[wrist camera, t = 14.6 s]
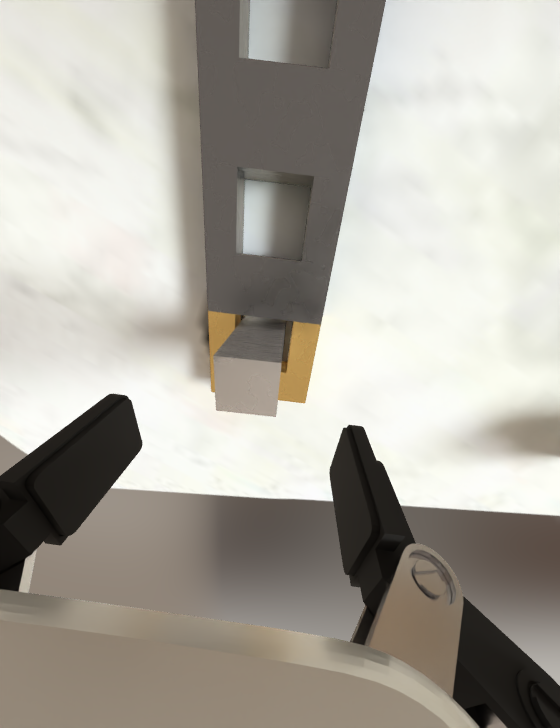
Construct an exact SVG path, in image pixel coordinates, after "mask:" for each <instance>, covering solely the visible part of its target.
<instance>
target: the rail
mask: <svg viewBox="0 0 560 728" xmlns="http://www.w3.org/2000/svg"><path fill="white" fill-rule="evenodd" d="M385 2H386V0H337V6H336V13H335V20H334V27H333V35H332V42H331V49H330V56H329V63H328V68H320V67H312V66H304V65H296V64H288V63H280V62H271V61H263V60H255V59H248V47H249V11H250V0H195V8H196V32H197V56H198V81H199V105H200V129H201V153H202V177H203V201H204V225H205V249H206V273H207V297H208V322H209V346H210V370H211V392H215V379H214V361H213V356H214V354H215V353H216V352H217V351H218V349H219V348H220V347H221V346H222V344H223V343H224V342H225V341H226V339H227V338H228V337H229V336H230V335H231V333H232V332H233V331H234V330H235V328H236V327H237V326H238V325H239V323H240V322H241V315H245V316H253V317H262V318H270V319H278V320H286V321H293V323H292V330H291V337H290V344H289V352H288V359H287V362H285V361H282V364H281V374H280V383H279V393H278V400H282V401H290V402H298V403H305V401H306V396H307V391H308V386H309V381H310V376H311V371H312V366H313V361H314V356H315V351H316V346H317V341H318V336H319V331H320V326H321V321H322V316H323V311H324V306H325V301H326V296H327V291H328V286H329V281H330V276H331V271H332V266H333V261H334V256H335V251H336V246H337V241H338V236H339V231H340V226H341V221H342V216H343V211H344V206H345V201H346V196H347V191H348V186H349V181H350V176H351V171H352V166H353V161H354V156H355V151H356V146H357V141H358V136H359V131H360V126H361V121H362V116H363V111H364V106H365V101H366V96H367V92H368V87H369V82H370V77H371V72H372V67H373V62H374V57H375V52H376V47H377V42H378V37H379V32H380V27H381V22H382V17H383V12H384V7H385ZM245 179H250V180H258V181H266V182H275V183H283V184H291V185H299V186H307V187H311V193H310V200H309V207H308V215H307V222H306V229H305V236H304V243H303V251H302V258H301V261H298V260H290V259H281V258H273V257H265V256H257V255H249V254H243V226H244V190H245Z"/></svg>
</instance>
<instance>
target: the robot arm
mask: <svg viewBox="0 0 560 728" xmlns="http://www.w3.org/2000/svg"><path fill="white" fill-rule="evenodd" d="M141 448H142V440H141V436H140V432H139V428H138V424H137V421H136V417H135V413H134V409H133V405H132V402H131V400H130V399H129V398H128V397H127V396H125V395H119V394H109V395H107V396H106V397H105V398H103V399H102V400H101V401H99V402H98V403H97V404H95V405H94V406H93V407H91V408H90V409H89V410H87V411H86V412H85V413H83V414H82V415H81V416H79V417H78V418H77V419H75V420H74V421H73V422H71V423H70V424H69V425H67V426H66V427H65V428H63V429H62V430H61V431H59V432H58V433H57V434H55V435H54V436H53V437H51V438H50V439H49V440H47V441H46V442H45V443H43V444H42V445H41V446H39V447H38V448H37V449H35V450H34V451H33V452H31V453H30V454H29V455H27V456H26V457H25V458H24V459H22V460H21V461H19V462H18V463H17V464H15V465H14V466H13V467H11V468H10V469H9V470H8V471H6V472H5V473H3V474H2V475H1V476H0V728H560V686H559V685H558V684H557V683H556V682H555V681H554V680H553V679H552V678H551V677H550V676H549V675H548V674H547V673H546V672H545V671H544V670H543V669H542V668H541V667H540V666H538V665H537V664H536V663H535V662H534V661H533V660H532V659H531V658H530V657H529V656H528V655H527V654H525V653H524V652H523V651H522V650H521V649H520V648H519V647H518V646H517V645H516V644H515V643H514V642H512V641H511V640H510V639H509V638H508V637H507V636H506V635H505V634H504V633H502V631H501V630H499V629H498V628H497V627H496V626H495V625H494V624H493V623H492V622H491V621H490V620H489V619H487V618H486V617H485V616H484V615H483V614H482V613H481V612H480V611H479V610H478V609H477V608H476V607H474V606H473V605H472V604H471V603H470V602H469V601H468V600H467V599H466V598H465V597H463V592H462V589H461V586H460V583H459V581H458V579H457V578H456V575H455V574H454V572H453V570H452V569H451V568H450V566H449V565H448V564H447V562H446V561H445V560H444V559H443V558H442V557H441V556H440V555H438V554H437V553H436V552H435V551H433V550H432V549H430V548H429V547H427V546H424V545H421V544H416V543H415V541H414V538H413V536H412V533H411V531H410V528H409V526H408V524H407V521H406V519H405V516H404V514H403V511H402V509H401V506H400V504H399V501H398V499H397V497H396V494H395V492H394V489H393V487H392V484H391V482H390V480H389V477H388V475H387V472H386V470H385V467H384V466H383V464H382V463H381V462H380V461H376V458H375V456H374V453H373V450H372V448H371V445H370V443H369V440H368V438H367V435H366V432H365V430H364V428H363V427H362V426H355V425H348V427H347V428H343V430H342V434H341V437H340V440H339V443H338V446H337V449H336V452H335V455H334V458H333V461H332V464H331V467H330V481H331V488H332V495H333V501H334V508H335V515H336V522H337V528H338V535H339V542H340V548H341V555H342V562H343V568H344V572H345V574H346V575H349V576H350V583H351V586H354V587H360V588H361V593H362V598H363V602H364V603H365V607H364V609H363V611H362V614H361V616H360V619H359V621H358V624H357V626H356V628H355V631H354V633H353V635H352V638H351V640H350V642H348V641H344V640H339V639H335V638H329V637H323V636H318V635H312V634H306V633H300V632H294V631H289V630H282V629H276V628H270V627H263V626H255V625H249V624H243V623H236V622H229V621H222V620H216V619H208V618H202V617H195V616H188V615H181V614H174V613H168V612H161V611H154V610H147V609H139V608H133V607H125V606H118V605H111V604H104V603H97V602H90V601H82V600H75V599H68V598H61V597H54V596H46V595H39V594H32V593H28V592H29V587H30V581H31V576H32V571H33V565H34V560H35V555H36V549H37V548H38V547H39V546H40V545H41V543H42V542H43V541H44V542H45V543H47V544H54V545H62V543H63V542H64V541H65V540H66V538H67V537H68V536H69V535H72V534H73V533H74V532H76V530H77V529H78V528H79V527H80V526H81V524H82V523H83V522H84V520H85V519H86V518H87V517H88V516H89V514H90V513H91V512H92V510H93V509H94V508H95V507H96V505H97V504H98V503H99V502H100V500H101V499H102V498H103V497H104V495H105V494H106V493H107V491H108V490H109V489H110V488H111V487H112V485H113V484H114V483H115V482H116V480H117V479H118V478H119V477H120V475H121V474H122V473H123V471H124V470H125V469H126V468H127V466H128V465H129V464H130V463H131V461H132V460H133V459H134V458H135V456H136V455H137V454H138V453H139V451H140V450H141Z"/></svg>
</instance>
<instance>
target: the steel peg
mask: <svg viewBox="0 0 560 728" xmlns="http://www.w3.org/2000/svg"><path fill="white" fill-rule="evenodd" d="M285 326H286V320H278V319H270V318H262V317H253V316H245V317H244V318H243V320H242V321H241V322H240V323H239V325H238V326H237V327H236V328H235V330H234V331H233V332H232V333H231V335H230V336H229V337H228V338H227V339H226V341H225V342H224V343H223V344H222V346H221V347H220V348H219V349H218V351H217V352H216V353H215V354H214V356H213V361H214V379H215V398H216V410H217V411H226V412H236V413H245V414H254V415H264V416H273V417H276V411H277V402H278V393H279V383H280V374H281V364H282V355H283V345H284V336H285Z"/></svg>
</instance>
